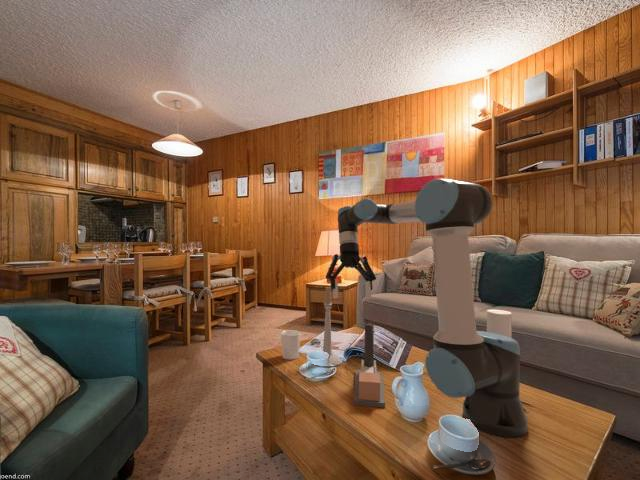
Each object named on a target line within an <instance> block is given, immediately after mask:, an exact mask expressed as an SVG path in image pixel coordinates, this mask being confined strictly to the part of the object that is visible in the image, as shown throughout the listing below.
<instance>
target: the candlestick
mask: <svg viewBox="0 0 640 480" xmlns="http://www.w3.org/2000/svg"><path fill="white" fill-rule="evenodd" d="M331 290H332V289H331V286H326V287H325V302H324V303H323V305H324V309H325V313H324V314H325V315H324V316H325V317H324V331H323V346H322V347H323V349H322V352H323V351H324V352H327V353H328V354H329V356H330V358H329V361H330V363H331V364H332V365H335V366H336V367H338V366H337V365H339V364H341V363H342V362H343V363H344V360H343V361H342V360H341V359H340V358H339V357H338V356H337V355H336V354H337V353H336V354H335V352H333V351H332V348H333V347H332V328H331V327H332V324H331V309H332V305H333V303H332V302H331V298H332V297H331V296H332V295H331V293H332V292H331ZM343 363H342V364H343ZM342 364H341V365H342ZM339 366H340V365H339Z"/></svg>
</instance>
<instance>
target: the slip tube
mask: <svg viewBox="0 0 640 480" xmlns="http://www.w3.org/2000/svg"><path fill="white" fill-rule="evenodd" d="M374 327H375V325H374V324H372V323H365V324H364V372H367V373H374V343H375V342H374V335H375V334H374V332H375V331H374Z"/></svg>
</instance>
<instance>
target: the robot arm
mask: <svg viewBox="0 0 640 480" xmlns="http://www.w3.org/2000/svg"><path fill="white" fill-rule="evenodd" d="M493 203H494V202H493V197H492V194H491V193H490V191H489V190H488V189H487V188H485V187H484V186H483V185H480V183H479V184H478V183H474V182H466V181H461V180H460V181H459V180H454V179H452V178H434V179H431V180H430V181H428V182H426V183H425V184H424V185H423V186H422V187H421V189H420V191H418V193H417V195H416V199H415V200H410V201H404V202H397V203H390V204H389V203H388V204H383V203H382V204H380V203H376V202H375V200H372V199H371V198H369V197H365V198H362V199H361V200H359V201H358V202H356V203H355V204H354V205H353V206H351V205H347V206H343V207H340V208H339V209H338V211H337V225H338V226H337V227H338V240H339V243H338V244H339V254H340V255H338V254H337V253H335V254H334V255H333V256H332V257H331V258H332V261H331V264H330V265H329V268H328V270H327V273H326V274H325V279H326V280H329V282H330V287H331V290H332V291H333V292H332V293H333V294H332V295H333V299H335V300H336V299H338V298H339V287H338V286H339V285H338V279H336V278H337V277H338V276H339V274H340V273H341V272H342V270H344V268H347V269H348V268H351V269H355V270H357V271H358V273H359V274H360V275H361V277H363V279H364V280H365V282H364V286H365V287H364V288H365V296H366V297H365V298H366V300H370V299H372V290H373V281H375V280H377V276H376V275H375V273H374V271H373V270H372V266H370V263H369V262H368V257H367V256H366V255H365V256H363V257H362V256H360V246H359V234H358V227H359V226H360V225H362V224H364V223H367V224H368V223H370V224H387V225H396V224H402V223H403V224H404V223H424V225H425V233H426V234H427V235H428V236H429V237H430V238H431V240H432V249H433V250H432V251H433V264H434V277H435V290H436V293H435V294H436V302H437V303H436V305H437V317H438V331H437V332H436V333H435V334H434V335H433V348H431V349H429V351H428V353H427V354H426V356H425V361H424V362H425V369H426V372H427V375H428V377H429V379H430V380H431V382H432V384H434V386H435V387H436V389H437V390H439V391H440V392H441V393H442V394H443V395H445V396H447V397H449V398H452V399H460V398H464V400H463V403H462V416H463V418H464V419H465V418H467V419H470V420H471V422H472V423H473V424H474V425H475V426H476V427H477V429H479V430H481V431H482V432H485V433H488V434H491V435H494V436H497V437H502V438H519V437H522V436H525V435H526V434H527V432H528V419H527V418H528V417H527V416H526V415H527V414H526V412H525V410H524V406H523V404H522V401H521V398H520V386H521V385H520V382H521V381H520V377H521V374H520V372H521V370H520V369H521V352H520V344H519V342H518V341H517V340H515V339H514V338H512V337H511V338H510V337H507V336H503V335H500V334H495V333H490V332H487V331H483V330H482V331H481V330H477V326H476V323H477V322H476V314H475V303H474V291H473V290H474V289H473V280H472V277H473V276H472V267H471V266H472V265H471V256H470V255H471V254H470V244H469V243H470V242H469V236H470V235H471V234H472V232H473V231H474V230H475V225H477V224H480V223H481V222H483V221H484V220H485V219H487V218H488V216H489V215H490V213H491V212H492V210H493V206H494V205H493ZM338 261H340V262H341V263H340V265H339V266H338V268H337V269H336V270H335V268H336V266H337V263H338ZM334 270H335V271H334ZM475 426H474V427H475ZM476 427H475V428H476Z"/></svg>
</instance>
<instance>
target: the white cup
mask: <svg viewBox="0 0 640 480" xmlns="http://www.w3.org/2000/svg"><path fill="white" fill-rule="evenodd" d="M280 337H281V352H282V353H281V354H282V357H281V358H283V359H284V360H296V359H298V358H299V356H300V355H299V354H300V346H301V345H300V343H301V331H299V330H296V329H286V330H283V331H281V333H280Z"/></svg>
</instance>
